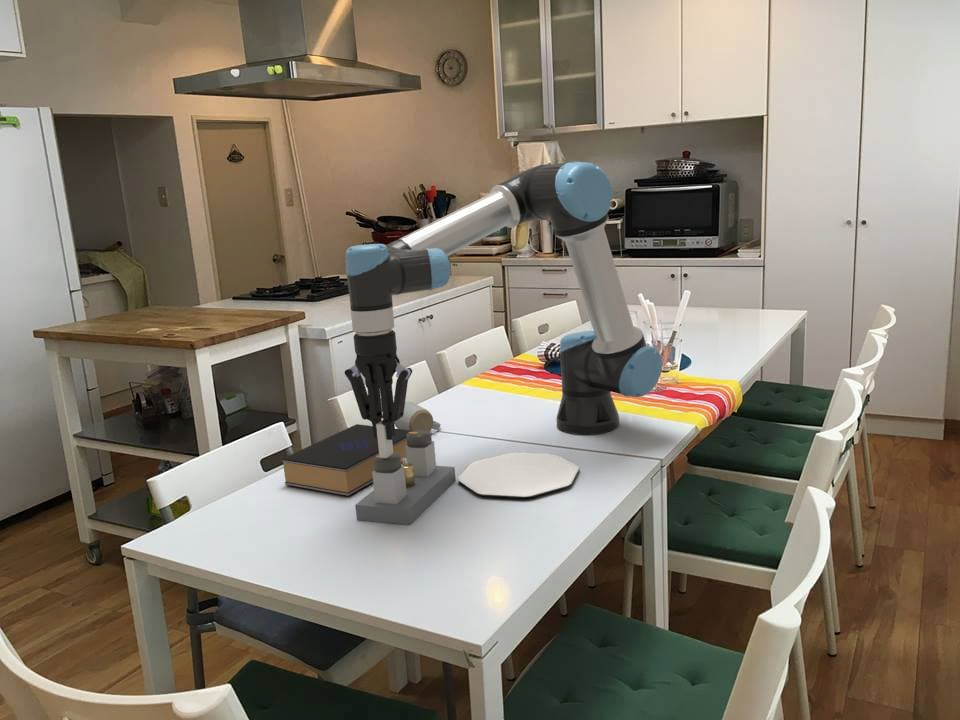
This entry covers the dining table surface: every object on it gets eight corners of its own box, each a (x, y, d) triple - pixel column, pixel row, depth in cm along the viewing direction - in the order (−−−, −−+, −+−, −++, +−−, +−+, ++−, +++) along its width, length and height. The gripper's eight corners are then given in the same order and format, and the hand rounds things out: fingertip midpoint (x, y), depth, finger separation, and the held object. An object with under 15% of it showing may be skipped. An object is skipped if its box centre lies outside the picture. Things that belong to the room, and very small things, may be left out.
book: (285, 488, 171) (281, 458, 170) (359, 450, 192) (356, 424, 191) (349, 499, 163) (345, 468, 161) (419, 459, 183) (416, 431, 182)
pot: (417, 482, 160) (415, 456, 159) (410, 488, 157) (408, 461, 156) (403, 481, 161) (401, 455, 160) (397, 487, 158) (394, 460, 157)
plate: (496, 512, 151) (495, 504, 151) (442, 475, 172) (442, 469, 172) (599, 483, 162) (599, 476, 161) (537, 452, 182) (537, 445, 182)
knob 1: (408, 493, 154) (404, 452, 152) (397, 503, 149) (392, 462, 148) (385, 491, 156) (381, 451, 154) (373, 501, 151) (368, 460, 149)
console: (455, 480, 168) (452, 439, 166) (409, 524, 148) (405, 478, 146) (407, 477, 172) (403, 436, 170) (356, 519, 152) (351, 474, 150)
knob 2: (438, 467, 167) (434, 429, 165) (428, 476, 162) (424, 437, 160) (416, 466, 168) (412, 428, 167) (405, 474, 164) (402, 436, 162)
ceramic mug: (411, 441, 195) (409, 410, 193) (394, 434, 201) (391, 404, 200) (447, 431, 201) (445, 402, 199) (429, 425, 207) (427, 396, 206)
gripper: (415, 327, 147) (426, 450, 152) (352, 327, 151) (365, 447, 156) (397, 335, 140) (409, 464, 145) (331, 335, 144) (345, 460, 150)
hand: (386, 455), depth 151 cm, fingers closed
